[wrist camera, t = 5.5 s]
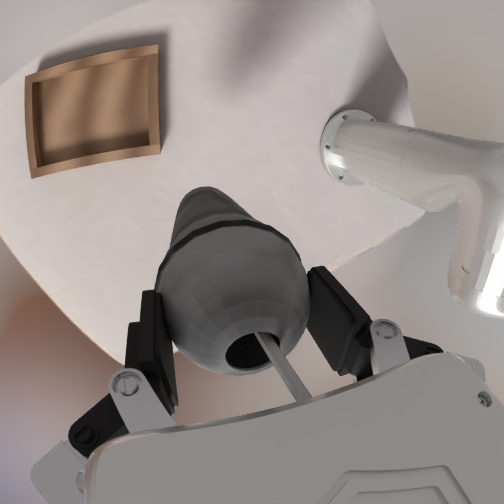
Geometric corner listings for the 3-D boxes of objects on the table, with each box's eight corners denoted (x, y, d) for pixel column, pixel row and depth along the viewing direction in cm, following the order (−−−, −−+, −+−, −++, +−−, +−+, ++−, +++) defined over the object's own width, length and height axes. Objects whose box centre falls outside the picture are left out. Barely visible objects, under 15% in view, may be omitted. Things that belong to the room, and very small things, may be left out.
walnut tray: (158, 50, 27) (158, 44, 24) (161, 151, 33) (160, 153, 31) (34, 78, 22) (25, 76, 20) (40, 174, 29) (31, 178, 26)
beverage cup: (153, 180, 21) (102, 442, 3) (242, 162, 22) (451, 333, 5) (172, 259, 24) (202, 505, 7) (251, 242, 25) (377, 450, 8)
